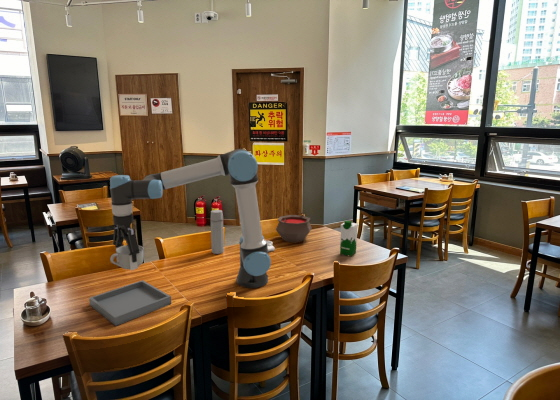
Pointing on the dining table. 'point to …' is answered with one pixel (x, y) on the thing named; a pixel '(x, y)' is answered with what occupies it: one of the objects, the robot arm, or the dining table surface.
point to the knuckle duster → (270, 246)
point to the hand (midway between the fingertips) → (127, 265)
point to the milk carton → (348, 238)
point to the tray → (129, 302)
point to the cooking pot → (293, 227)
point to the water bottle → (217, 232)
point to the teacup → (126, 257)
